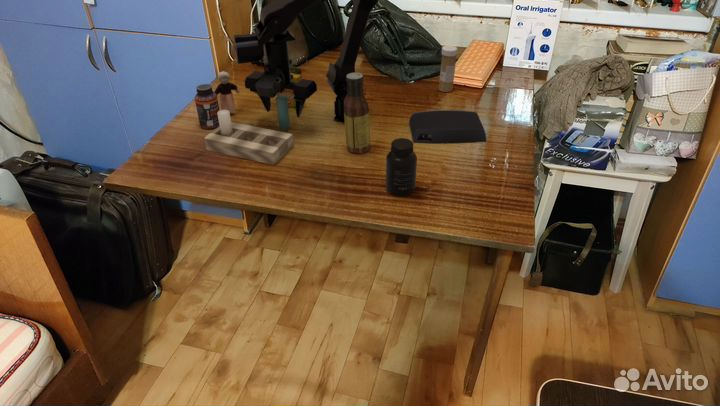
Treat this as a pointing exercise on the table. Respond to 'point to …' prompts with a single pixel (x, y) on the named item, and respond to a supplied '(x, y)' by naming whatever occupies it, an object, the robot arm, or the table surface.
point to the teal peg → (283, 112)
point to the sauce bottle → (356, 115)
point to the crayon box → (289, 93)
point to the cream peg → (225, 123)
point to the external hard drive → (446, 127)
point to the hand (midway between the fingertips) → (283, 113)
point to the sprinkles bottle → (447, 68)
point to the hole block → (251, 143)
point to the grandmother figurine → (226, 92)
